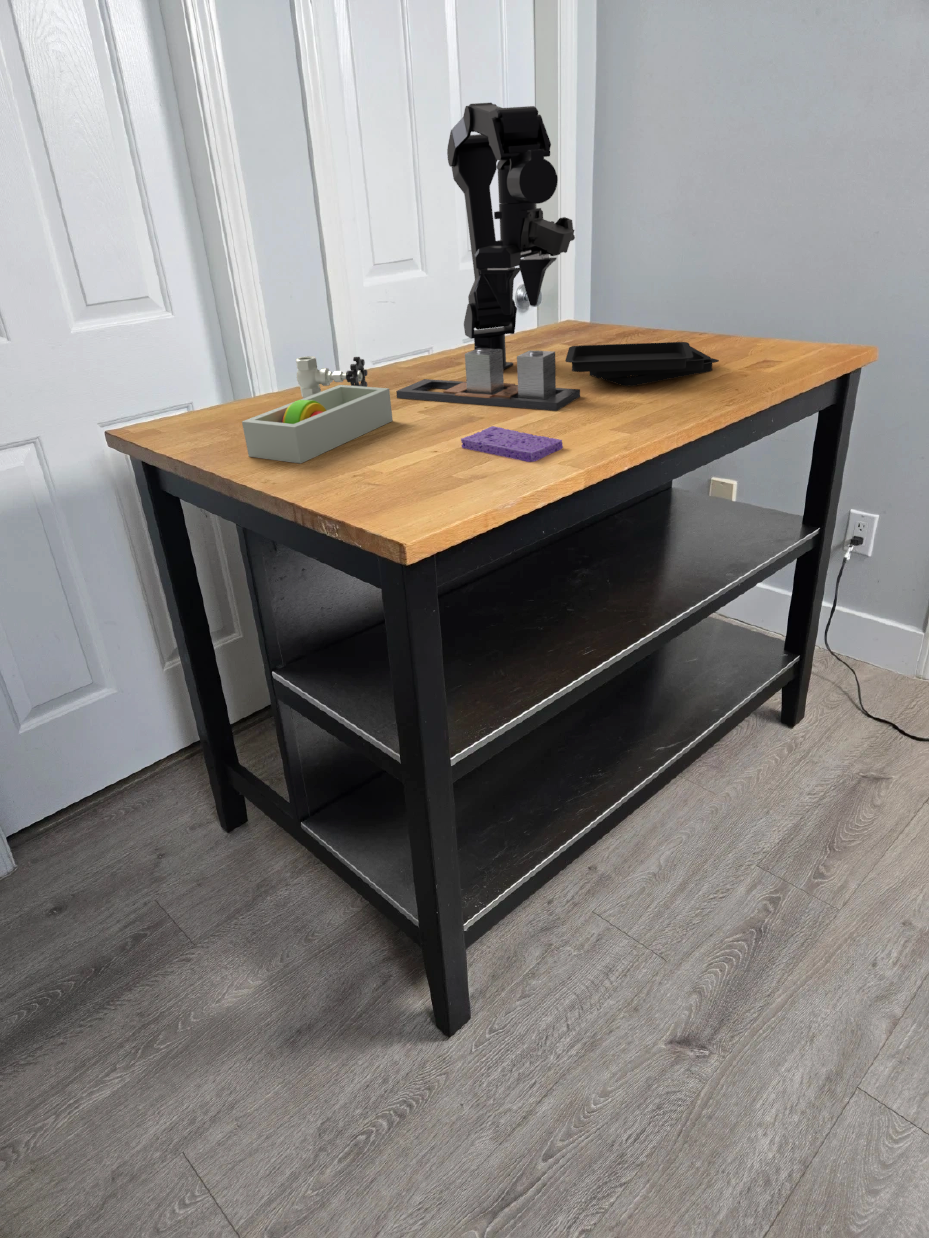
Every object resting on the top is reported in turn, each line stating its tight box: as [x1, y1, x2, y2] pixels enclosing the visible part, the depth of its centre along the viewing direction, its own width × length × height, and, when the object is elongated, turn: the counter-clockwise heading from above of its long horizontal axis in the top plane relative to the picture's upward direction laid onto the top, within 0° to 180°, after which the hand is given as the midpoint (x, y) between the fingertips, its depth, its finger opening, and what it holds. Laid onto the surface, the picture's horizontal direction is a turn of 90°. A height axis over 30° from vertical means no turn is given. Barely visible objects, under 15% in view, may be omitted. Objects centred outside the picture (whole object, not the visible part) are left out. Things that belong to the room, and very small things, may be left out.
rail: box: [396, 378, 581, 412], centre depth 138 cm, size 30×9×1 cm, turn 60°
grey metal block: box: [516, 349, 557, 400], centre depth 132 cm, size 4×4×8 cm
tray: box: [565, 341, 720, 387], centre depth 142 cm, size 30×23×5 cm
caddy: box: [241, 384, 393, 464], centre depth 122 cm, size 22×10×5 cm, turn 150°
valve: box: [295, 355, 368, 399], centre depth 146 cm, size 7×7×12 cm
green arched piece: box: [282, 399, 326, 424], centre depth 121 cm, size 6×20×7 cm, turn 151°
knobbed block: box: [464, 348, 505, 395], centre depth 136 cm, size 4×4×8 cm
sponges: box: [460, 425, 564, 463], centre depth 112 cm, size 7×13×2 cm, turn 48°
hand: (520, 310), depth 134 cm, fingers open, 9 cm apart
